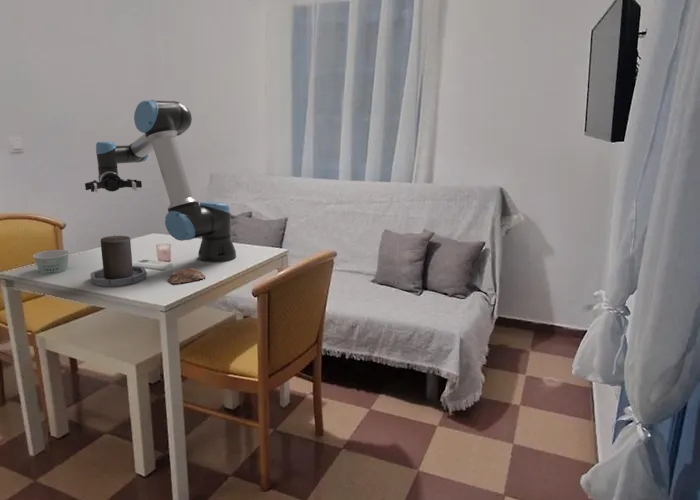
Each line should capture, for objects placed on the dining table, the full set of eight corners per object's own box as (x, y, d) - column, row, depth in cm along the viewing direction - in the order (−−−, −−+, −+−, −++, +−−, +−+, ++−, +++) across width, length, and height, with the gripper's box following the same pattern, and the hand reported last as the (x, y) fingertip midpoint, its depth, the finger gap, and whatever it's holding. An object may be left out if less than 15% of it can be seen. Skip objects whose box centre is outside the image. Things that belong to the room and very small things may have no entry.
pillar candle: (101, 280, 178) (96, 238, 175) (107, 272, 187) (103, 232, 184) (131, 279, 181) (127, 237, 177) (135, 271, 190) (132, 231, 186)
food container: (35, 277, 185) (33, 259, 183) (34, 268, 195) (32, 252, 193) (73, 272, 191) (71, 255, 190) (70, 264, 201) (68, 248, 199)
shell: (162, 278, 187) (162, 268, 186) (197, 272, 194) (196, 263, 193) (172, 286, 178) (171, 276, 177) (208, 280, 185) (207, 271, 184)
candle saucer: (156, 274, 190) (156, 268, 190) (123, 289, 173) (122, 282, 173) (115, 269, 195) (115, 263, 194) (79, 283, 178) (78, 277, 178)
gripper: (143, 188, 220) (151, 195, 202) (78, 192, 208) (80, 199, 190) (142, 171, 218) (150, 176, 200) (75, 173, 206) (77, 179, 188)
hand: (116, 187), depth 195 cm, fingers open, 13 cm apart
